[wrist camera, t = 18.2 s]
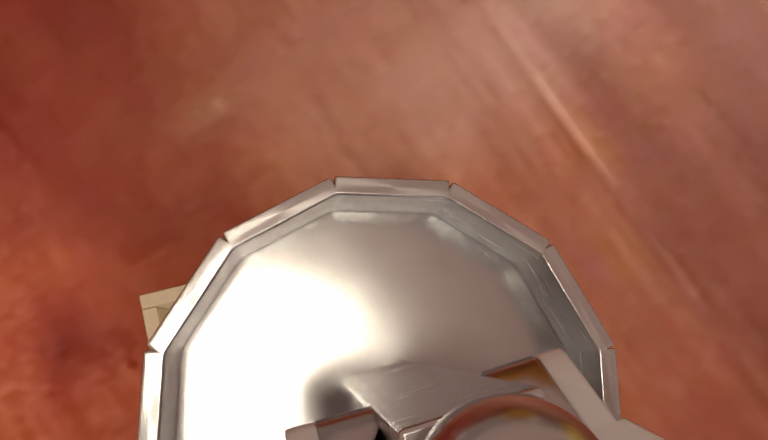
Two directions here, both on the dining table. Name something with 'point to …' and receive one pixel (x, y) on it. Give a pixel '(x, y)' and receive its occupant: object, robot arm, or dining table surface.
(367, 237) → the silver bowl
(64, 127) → the dining table surface
